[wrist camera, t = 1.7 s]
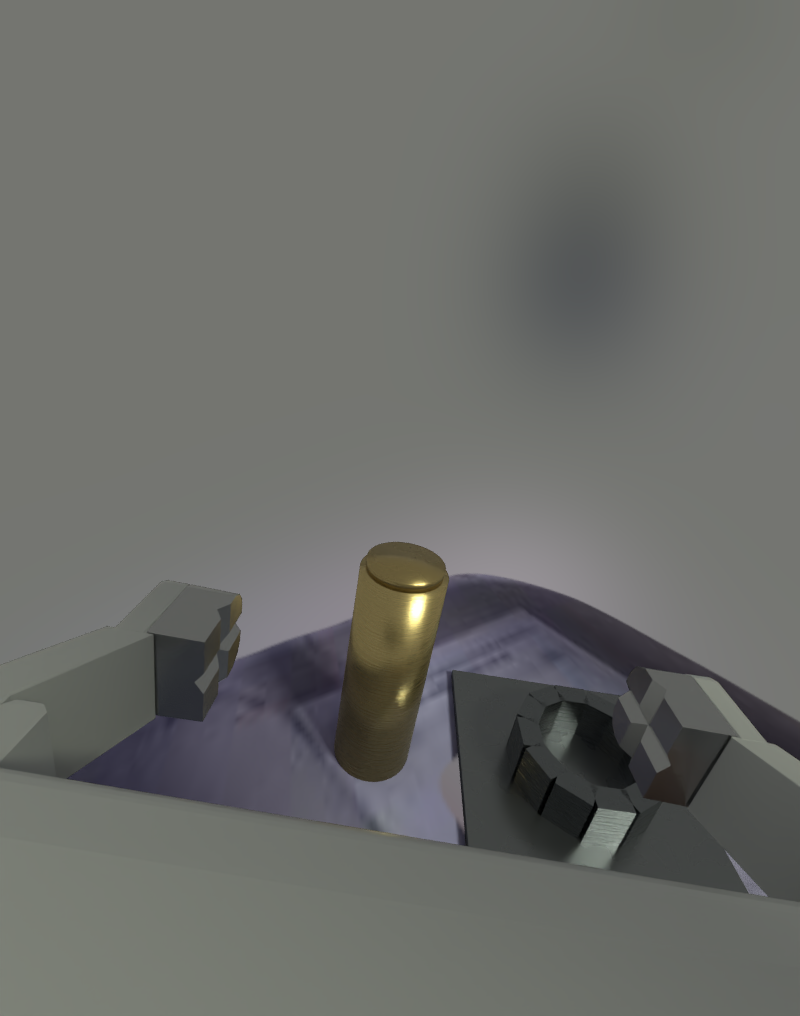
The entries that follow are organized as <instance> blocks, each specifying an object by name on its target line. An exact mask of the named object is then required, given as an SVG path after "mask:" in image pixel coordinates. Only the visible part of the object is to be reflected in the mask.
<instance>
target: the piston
mask: <svg viewBox="0 0 800 1016" xmlns="http://www.w3.org/2000/svg"><path fill="white" fill-rule="evenodd" d="M448 582H449V576H448V573H447V571H446V567H445V564H444V562H443V560H442V559H441V558H440V557H439V556H438V555H437V554H435V553H434V552H432V551H430V550H428V549H426V548H424V547H421V546H418V545H415V544H410V543H403V542H388V543H383V544H379V545H377V546H375V547H373V548H372V549H371V550H370V551H369V552H368V554H367V555H366V556H365V557H364V558H363V559H362V561H361V563H360V570H359V578H358V585H357V591H356V598H355V605H354V612H353V618H352V625H351V632H350V639H349V646H348V653H347V660H346V667H345V674H344V681H343V688H342V695H341V702H340V709H339V716H338V723H337V730H336V737H335V744H334V750H335V755H336V758H337V760H338V762H339V764H340V765H341V767H342V768H343V769H344V770H345V771H346V772H347V773H349V774H350V775H352V776H353V777H355V778H357V779H360V780H363V781H369V782H378V781H384V780H387V779H389V778H391V777H393V776H395V775H396V774H397V773H399V772H400V770H401V769H402V768H403V766H404V765H405V763H406V760H407V756H408V752H409V748H410V744H411V739H412V735H413V731H414V727H415V722H416V718H417V714H418V710H419V705H420V701H421V697H422V693H423V688H424V684H425V680H426V676H427V671H428V667H429V663H430V659H431V654H432V650H433V646H434V642H435V637H436V633H437V629H438V625H439V620H440V616H441V612H442V608H443V603H444V599H445V595H446V591H447V586H448Z"/></svg>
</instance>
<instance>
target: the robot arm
mask: <svg viewBox="0 0 800 1016" xmlns="http://www.w3.org/2000/svg"><path fill="white" fill-rule="evenodd" d="M241 613H242V598H241V596H240V594H236V593H231V592H226V591H221V590H216V589H211V588H206V587H201V586H196V585H190V584H186V583H180V582H175V581H169V580H166V581H162V582H160V583H159V584H158V585H157V586H156V587H155V588H154V589H153V590H152V591H151V592H150V593H149V594H148V595H147V596H146V597H145V598H144V599H143V600H142V601H141V602H140V603H139V604H138V605H137V606H136V607H135V608H134V609H133V610H132V611H131V612H130V613H129V614H128V615H127V616H126V617H125V618H124V619H123V620H122V621H121V622H120V623H119V624H118V625H117V626H116V627H115V628H114V627H108V626H106V627H103V628H101V629H98V630H95V631H92V632H90V633H87V634H84V635H81V636H79V637H76V638H73V639H70V640H68V641H65V642H62V643H59V644H57V645H54V646H51V647H49V648H45V649H43V650H40V651H37V652H35V653H32V654H29V655H26V656H23V657H21V658H18V659H15V660H12V661H10V662H7V663H4V664H2V665H0V1016H800V761H799V760H797V759H796V758H794V757H793V756H792V755H790V754H789V753H787V752H786V751H784V750H783V749H781V748H780V747H778V746H777V745H775V744H770V743H767V742H766V741H765V739H764V738H763V737H762V736H761V734H760V733H759V732H758V731H757V730H756V728H755V727H754V726H753V725H752V723H751V722H750V721H749V720H748V718H747V717H746V716H745V715H744V714H743V712H742V711H741V710H740V709H739V707H738V706H737V705H736V704H735V703H734V701H733V700H732V699H731V698H730V696H729V695H728V694H727V693H726V691H725V690H724V689H723V688H722V687H721V685H720V684H719V683H718V682H717V681H715V680H713V679H712V678H710V677H703V676H696V675H690V674H679V673H673V672H667V671H661V670H655V669H650V668H644V667H638V666H637V667H636V668H635V669H633V670H632V671H631V673H630V675H629V677H628V679H627V681H626V682H627V685H628V688H629V690H630V691H628V692H627V693H625V694H624V695H622V696H620V697H619V698H618V700H617V702H616V705H615V707H614V710H613V721H612V725H613V730H614V735H615V737H616V740H617V742H618V744H619V746H620V747H621V748H622V749H623V750H624V751H625V752H626V753H627V754H628V755H629V756H631V760H630V763H629V768H630V771H631V773H632V775H633V777H634V779H635V781H636V784H637V786H638V788H639V790H640V792H641V794H642V797H643V798H646V799H651V800H656V801H661V802H666V803H671V804H676V805H681V806H685V807H688V808H687V810H688V811H689V812H690V813H691V814H692V815H693V816H694V817H695V818H696V819H697V820H698V821H699V822H700V824H701V825H702V826H703V827H704V828H705V829H706V830H707V831H708V832H709V833H710V834H711V835H712V836H713V837H714V839H715V840H716V841H717V842H718V843H719V844H720V845H721V846H722V847H723V848H724V849H725V850H726V851H727V853H728V854H729V855H730V856H731V857H732V858H733V859H734V860H735V861H736V862H737V863H738V864H739V865H740V867H741V868H742V869H743V870H744V871H745V872H746V873H747V874H748V875H749V876H750V877H751V878H752V879H753V880H754V882H755V883H756V884H757V885H758V886H759V887H760V888H761V889H762V890H763V891H764V892H765V893H766V894H767V896H768V897H765V896H759V895H754V894H748V893H742V892H736V891H730V890H724V889H718V888H712V887H706V886H700V885H694V884H688V883H682V882H676V881H670V880H664V879H658V878H653V877H647V876H641V875H635V874H629V873H623V872H617V871H611V870H605V869H599V868H593V867H587V866H582V865H576V864H570V863H564V862H558V861H552V860H546V859H540V858H534V857H528V856H522V855H516V854H510V853H504V852H498V851H492V850H486V849H481V848H475V847H469V846H463V845H457V844H451V843H445V842H439V841H433V840H427V839H421V838H415V837H409V836H403V835H397V834H391V833H385V832H379V831H373V830H367V829H361V828H355V827H349V826H343V825H338V824H332V823H326V822H320V821H314V820H308V819H302V818H296V817H290V816H284V815H278V814H272V813H266V812H260V811H254V810H248V809H242V808H236V807H230V806H224V805H218V804H213V803H207V802H201V801H195V800H189V799H183V798H177V797H171V796H165V795H159V794H153V793H147V792H141V791H135V790H129V789H123V788H117V787H111V786H105V785H99V784H94V783H88V782H82V781H76V780H70V779H66V778H68V777H69V776H71V775H72V774H74V773H75V772H77V771H78V770H80V769H81V768H83V767H84V766H86V765H87V764H88V763H90V762H91V761H93V760H94V759H96V758H97V757H99V756H100V755H102V754H103V753H105V752H106V751H108V750H109V749H110V748H112V747H113V746H115V745H116V744H118V743H119V742H121V741H122V740H124V739H125V738H127V737H128V736H130V735H131V734H132V733H134V732H135V731H137V730H138V729H140V728H141V727H143V726H144V725H146V724H147V723H149V722H150V721H152V720H153V719H154V718H155V715H158V716H165V717H172V718H179V719H186V720H193V721H200V722H203V720H204V718H205V717H206V715H207V713H208V711H209V709H210V708H211V706H212V704H213V702H214V700H215V699H216V697H217V695H218V682H220V681H221V680H223V679H225V678H227V676H228V675H229V673H230V671H231V669H232V667H233V664H234V661H235V658H236V655H237V652H238V647H239V642H240V629H239V628H238V626H237V625H236V621H237V619H238V618H239V616H240V614H241Z"/></svg>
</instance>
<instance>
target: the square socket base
mask: <svg viewBox="0 0 800 1016" xmlns="http://www.w3.org/2000/svg"><path fill="white" fill-rule="evenodd" d="M451 675H452V687H453V699H454V710H455V722H456V734H457V745H458V757H459V769H460V781H461V792H462V804H463V816H464V827H465V839H466V846H469V847H475V848H481V849H486V850H492V851H498V852H504V853H510V854H516V855H522V856H528V857H534V858H540V859H546V860H552V861H558V862H564V863H570V864H576V865H582V866H587V867H593V868H599V869H605V870H611V871H617V872H623V873H629V874H635V875H641V876H647V877H653V878H658V879H664V880H670V881H676V882H682V883H688V884H694V885H700V886H706V887H712V888H718V889H724V890H730V891H736V892H742V893H748V891H747V890H746V888H745V886H744V884H743V882H742V881H741V879H740V877H739V875H738V873H737V872H736V870H735V868H734V866H733V865H732V863H731V861H730V859H729V857H728V856H727V854H726V852H725V850H724V848H723V847H722V846H721V845H720V844H719V843H718V842H717V841H716V840H715V839H714V837H713V836H712V835H711V834H710V833H709V832H708V831H707V830H706V829H705V828H704V827H703V826H702V825H701V824H700V822H699V821H698V820H697V819H696V818H695V817H694V816H693V815H692V814H691V813H690V812H689V811H688V810H687V808H688V807H685V806H681V805H676V804H671V803H666V802H661V801H656V800H651V799H646V798H643V797H642V794H641V792H640V790H639V788H638V786H637V784H636V781H635V779H634V777H633V775H632V773H631V771H630V768H629V763H630V760H631V756H629V755H628V754H627V753H626V752H625V751H624V750H623V749H622V748H621V747H620V746H619V744H618V742H617V740H616V737H615V735H614V730H613V725H612V721H613V710H614V707H615V705H616V702H617V700H618V698H619V697H620V696H619V695H612V694H606V693H599V692H593V691H586V690H583V689H576V688H570V687H563V686H557V685H555V686H554V685H547V684H541V683H534V682H528V681H521V680H515V679H508V678H501V677H495V676H488V675H482V674H475V673H469V672H462V671H456V670H453V671H452V674H451ZM748 894H749V893H748Z"/></svg>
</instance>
